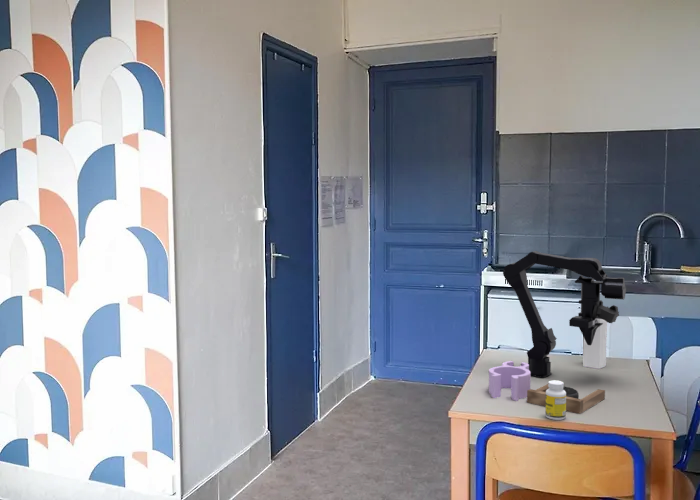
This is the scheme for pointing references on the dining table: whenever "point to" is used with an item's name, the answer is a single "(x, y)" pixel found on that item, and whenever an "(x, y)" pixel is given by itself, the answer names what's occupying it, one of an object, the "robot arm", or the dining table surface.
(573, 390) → the smart speaker
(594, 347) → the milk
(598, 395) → the wooden tray
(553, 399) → the supplement bottle
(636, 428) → the dining table surface
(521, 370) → the clip
